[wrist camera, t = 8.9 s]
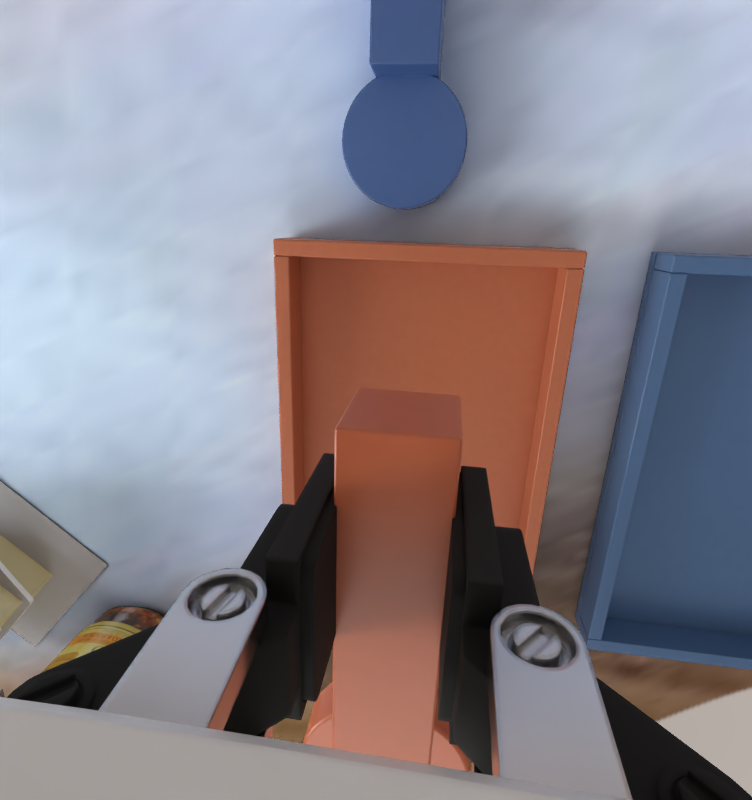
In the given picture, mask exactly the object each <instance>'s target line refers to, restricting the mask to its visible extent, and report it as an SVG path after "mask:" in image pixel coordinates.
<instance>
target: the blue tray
mask: <svg viewBox="0 0 752 800" xmlns="http://www.w3.org/2000/svg"><path fill="white" fill-rule="evenodd" d="M575 618H576V621H577V624H578V627H579V630H580V633H581V635H582V637H583V639H584V641H585V643H586V645H587V649H591V650H598V651H606V652H614V653H622V654H630V655H638V656H646V657H653V658H661V659H669V660H677V661H685V662H693V663H701V664H708V665H716V666H724V667H732V668H740V669H748V670H752V256H746V255H720V254H695V253H669V252H652V254H651V259H650V264H649V268H648V273H647V278H646V283H645V287H644V292H643V297H642V302H641V306H640V311H639V316H638V321H637V325H636V330H635V335H634V340H633V344H632V349H631V354H630V359H629V363H628V368H627V373H626V378H625V382H624V387H623V392H622V397H621V401H620V406H619V411H618V416H617V420H616V425H615V430H614V435H613V439H612V444H611V449H610V454H609V458H608V463H607V468H606V473H605V477H604V482H603V487H602V492H601V496H600V501H599V506H598V511H597V515H596V520H595V525H594V530H593V534H592V539H591V544H590V549H589V553H588V558H587V563H586V568H585V572H584V577H583V582H582V587H581V591H580V596H579V601H578V606H577V610H576V615H575Z"/></svg>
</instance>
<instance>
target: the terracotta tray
mask: <svg viewBox="0 0 752 800" xmlns="http://www.w3.org/2000/svg"><path fill="white" fill-rule="evenodd" d="M274 255H276V256H275V257H274V268H275V298H276V327H277V356H278V385H279V414H280V443H281V473H282V502H283V504H292V505H295V503H296V502H297V500H298V498H299V496H300V494H301V493H302V491H303V489H304V487H305V486H306V484H307V482H308V480H309V478H310V477H311V475H312V473H313V471H314V470H315V468H316V466H317V464H318V462H319V461H320V459H321V457H322V455H323V454H324V453H330V454H334V433H335V428H336V426H337V424H338V423H339V421H340V419H341V417H342V416H343V414H344V412H345V411H346V409H347V407H348V405H349V404H350V402H351V400H352V399H353V397H354V395H355V393H356V392H357V390H358V388H372V389H385V390H398V391H411V392H424V393H437V394H450V395H458V396H460V403H461V420H462V437H463V444H462V454H461V464H460V472H461V466H471V467H482V468H486V470H487V477H488V483H489V490H490V497H491V503H492V510H493V517H494V523H495V526H499V527H509V528H518V529H521V531H522V534H523V538H524V543H525V547H526V551H527V555H528V559H529V564H530V568H531V572H532V576H533V572H534V566H535V560H536V554H537V548H538V542H539V536H540V530H541V524H542V518H543V512H544V506H545V501H546V495H547V489H548V483H549V477H550V471H551V465H552V459H553V453H554V447H555V441H556V435H557V429H558V423H559V418H560V412H561V406H562V400H563V394H564V388H565V382H566V376H567V370H568V364H569V358H570V352H571V346H572V341H573V335H574V329H575V323H576V317H577V311H578V305H579V299H580V293H581V287H582V281H583V275H584V269H583V268H584V267H585V263H586V257H587V252H586V251H583V250H577V249H566V248H541V247H515V246H489V245H464V244H438V243H412V242H387V241H361V240H335V239H310V238H279V239H274Z"/></svg>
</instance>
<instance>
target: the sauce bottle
mask: <svg viewBox="0 0 752 800" xmlns="http://www.w3.org/2000/svg"><path fill="white" fill-rule="evenodd" d="M163 618H164V617H162V616H160V614H159V613H156V612H153V611H152V610H151V609H144V608H141V607H132V606H128V607H116V608H112V609H110V610H108V611H107V612H106V613H104V614H103V615H102V616H101V617H99V618H98V619H97V620H96V621H95V622H94V623H93V624H91V625H89V626H87V627H85V628H84V629H83V630H82V631H81V632H80V633H79V634H78V635H77V636H76V637H75V638H74V639H73V640H72V641H71V642H70V643H69V644H68V645H67V646H66V647H65V648H64V650H63V651H62V652H61V653H60V654H59V655H58V656H57V657H56V658H55V659H54V660H53V661H52V662H51V663H50V664H49V665H48V666H47V667H46V668H45V669H44V671H46V670H49V669H51V668H53V667H56V666H58V665H61V664H63V663H65V662H68V661H70V660H73V659H75V658H78V657H80V656H82V655H85V654H87V653H90V652H92V651H95V650H97V649H99V648H102V647H104V646H107V645H109V644H112V643H114V642H116V641H119V640H121V639H124V638H126V637H128V636H131V635H133V634H136V633H138V632H141V631H143V630H145V629H148V628H150V627H153V626H155V625H158V624H159V623H160V622H161V621H162V619H163ZM44 671H43V672H44Z"/></svg>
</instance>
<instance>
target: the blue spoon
mask: <svg viewBox="0 0 752 800" xmlns="http://www.w3.org/2000/svg"><path fill="white" fill-rule="evenodd" d="M444 12H445V0H371V23H370V65H371V67H372V69H373V72H374V74H375V76H376V78H375V79H374V80H372V81H371V82H370V83H368V84H367V85H366V86H365V87H364V88H363V89H362V90H361V91H360V93H359V94H358V95H357V97H356V98H355V100H354V101H353V103H352V105H351V106H350V109H349V111H348V113H347V116H346V119H345V123H344V128H343V137H342V146H343V155H344V160H345V163H346V167H347V169H348V171H349V174H350V176H351V177H352V179H353V181H354V182H355V184H356V185H357V186H358V188H359V189H360V190H361V191H362V192H363V193H364V194H365V195H367V196H368V197H369V198H370V199H372V200H374V201H375V202H377V203H379V204H382V205H384V206H387V207H390V208H394V209H402V210H405V209H415V208H419V207H422V206H425V205H427V204H429V203H431V202H433V201H435V200H436V199H438V198H439V197H440V196H441V195H443V194H444V193H445V192H446V191H447V190H448V188H449V187H450V186H451V185H452V183H453V182H454V181H455V179H456V177H457V175H458V173H459V171H460V169H461V166H462V163H463V160H464V156H465V152H466V145H467V127H466V121H465V116H464V113H463V110H462V107H461V105H460V103H459V101H458V99H457V98H456V96H455V95H454V93H453V92H452V91H451V89H450V88H449V87H448V86H447V85H446V84H445V83H443V82H442V81H441V80H440V73H441V58H442V43H443V27H444Z"/></svg>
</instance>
